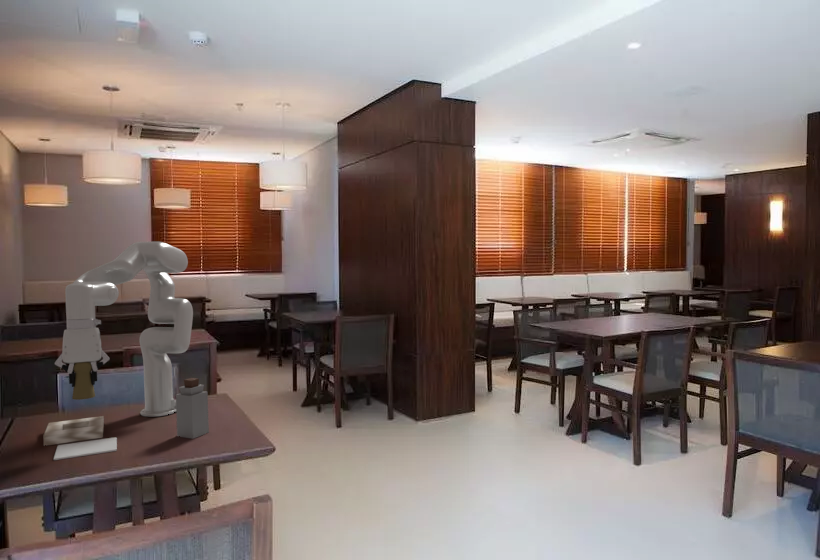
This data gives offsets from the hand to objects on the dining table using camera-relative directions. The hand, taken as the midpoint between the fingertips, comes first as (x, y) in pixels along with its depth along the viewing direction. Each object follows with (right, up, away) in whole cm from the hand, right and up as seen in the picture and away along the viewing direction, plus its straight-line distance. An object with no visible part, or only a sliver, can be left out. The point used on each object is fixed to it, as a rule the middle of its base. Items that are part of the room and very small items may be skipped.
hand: (83, 384), depth 172 cm
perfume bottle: (+28, -19, +13) cm, 36 cm away
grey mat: (+1, -19, 0) cm, 19 cm away
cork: (0, -4, 0) cm, 4 cm away
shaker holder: (-11, -19, +14) cm, 26 cm away
